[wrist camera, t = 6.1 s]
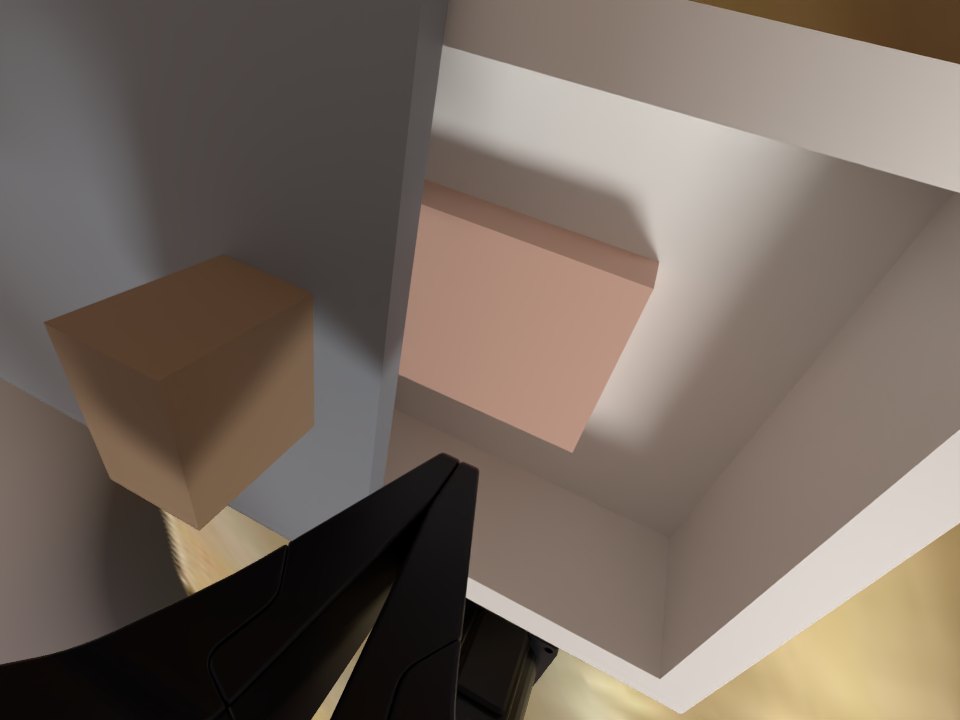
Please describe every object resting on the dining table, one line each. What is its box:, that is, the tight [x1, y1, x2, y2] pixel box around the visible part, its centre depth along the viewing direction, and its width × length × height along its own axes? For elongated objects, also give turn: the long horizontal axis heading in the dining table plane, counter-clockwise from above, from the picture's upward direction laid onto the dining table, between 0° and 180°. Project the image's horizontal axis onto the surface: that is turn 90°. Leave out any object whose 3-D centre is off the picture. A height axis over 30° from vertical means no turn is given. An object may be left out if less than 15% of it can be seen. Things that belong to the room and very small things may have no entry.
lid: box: [0, 0, 449, 541], centre depth 11 cm, size 17×18×4 cm
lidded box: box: [383, 0, 960, 714], centre depth 13 cm, size 16×18×6 cm
